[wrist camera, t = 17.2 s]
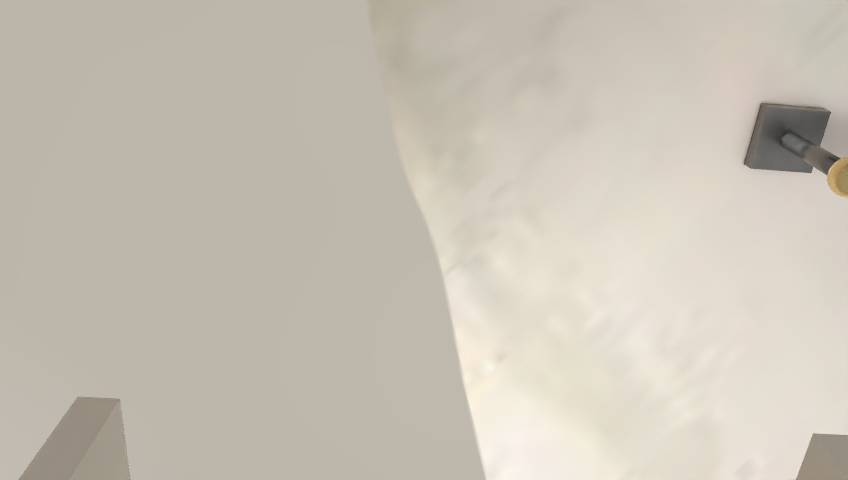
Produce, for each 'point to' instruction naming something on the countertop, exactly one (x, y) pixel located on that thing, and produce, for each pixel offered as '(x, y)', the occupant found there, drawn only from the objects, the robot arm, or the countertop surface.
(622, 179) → the countertop surface
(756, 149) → the grey metal bar stand
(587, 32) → the countertop surface
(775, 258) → the countertop surface
